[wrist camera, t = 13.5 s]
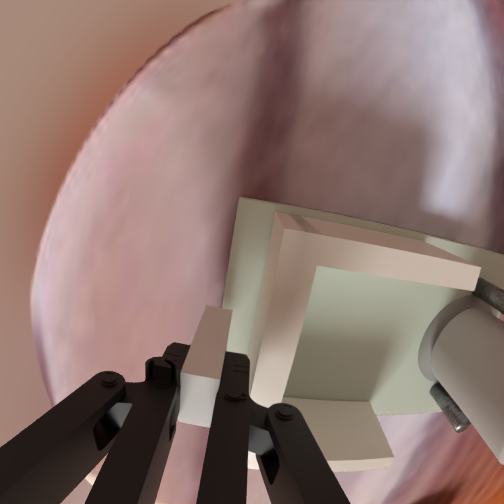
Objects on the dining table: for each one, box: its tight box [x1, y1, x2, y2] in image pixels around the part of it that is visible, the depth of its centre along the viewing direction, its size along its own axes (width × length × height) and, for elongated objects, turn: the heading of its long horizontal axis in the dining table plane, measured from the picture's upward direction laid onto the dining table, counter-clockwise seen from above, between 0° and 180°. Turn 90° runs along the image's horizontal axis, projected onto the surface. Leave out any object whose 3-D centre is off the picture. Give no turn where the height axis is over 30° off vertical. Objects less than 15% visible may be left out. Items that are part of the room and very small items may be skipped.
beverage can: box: [431, 307, 504, 464], centre depth 13 cm, size 6×6×12 cm
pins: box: [430, 278, 504, 433], centre depth 17 cm, size 1×10×5 cm, turn 170°
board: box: [222, 197, 504, 416], centre depth 20 cm, size 22×14×2 cm, turn 81°
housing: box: [248, 212, 481, 472], centre depth 16 cm, size 10×14×6 cm
